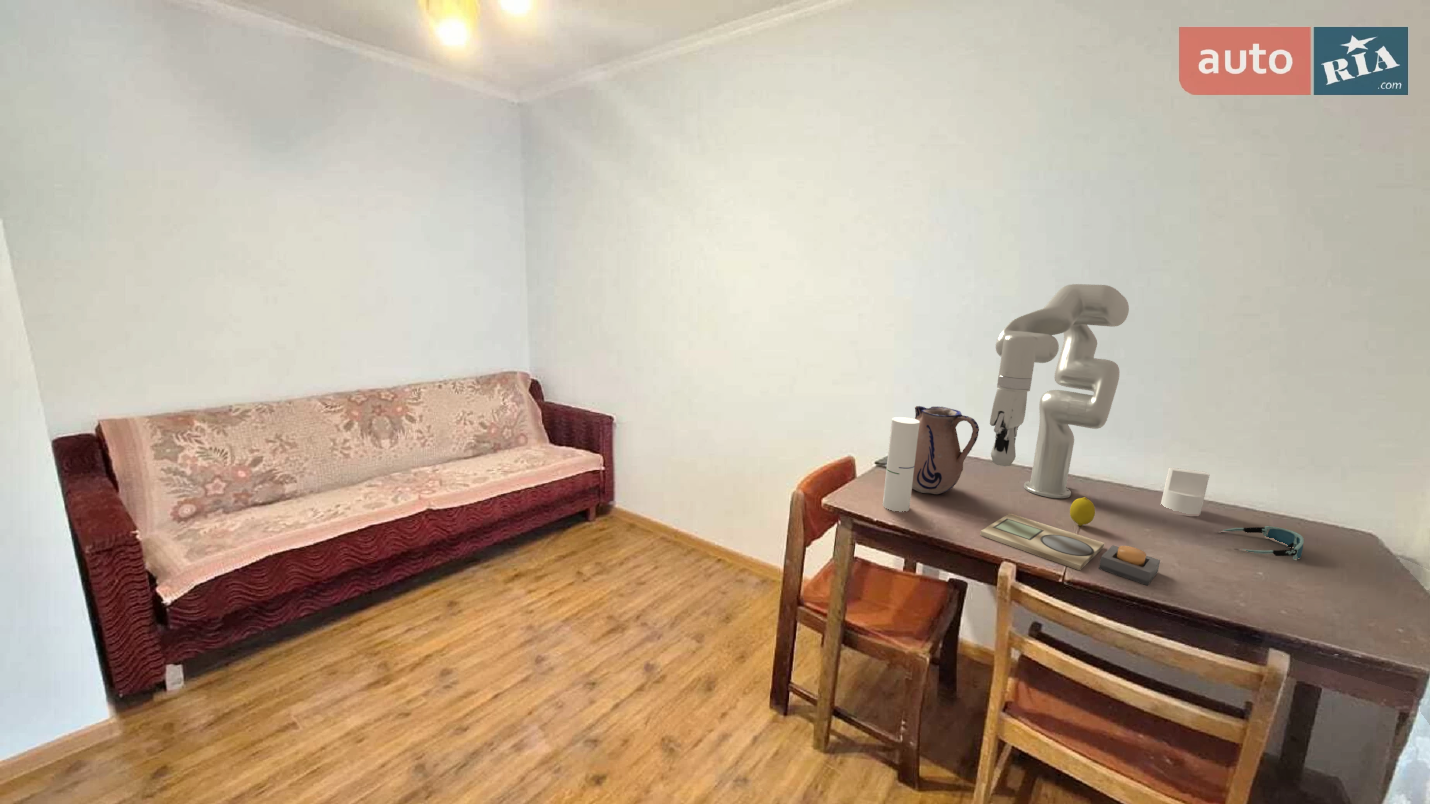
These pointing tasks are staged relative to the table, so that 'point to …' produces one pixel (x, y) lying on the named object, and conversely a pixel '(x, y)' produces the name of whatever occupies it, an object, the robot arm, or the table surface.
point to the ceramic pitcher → (939, 449)
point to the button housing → (1129, 567)
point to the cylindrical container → (900, 463)
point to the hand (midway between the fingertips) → (1003, 451)
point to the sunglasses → (1280, 535)
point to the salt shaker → (1002, 457)
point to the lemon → (1082, 511)
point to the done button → (1131, 555)
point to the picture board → (1043, 540)
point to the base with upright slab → (1185, 490)
